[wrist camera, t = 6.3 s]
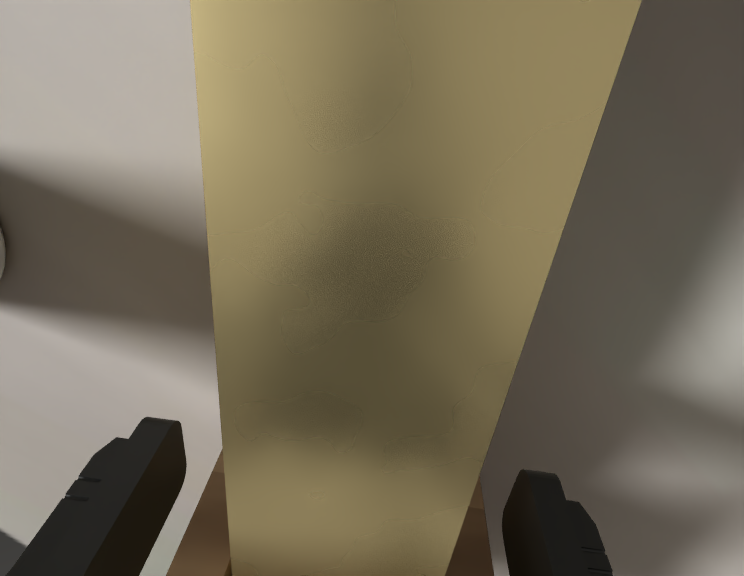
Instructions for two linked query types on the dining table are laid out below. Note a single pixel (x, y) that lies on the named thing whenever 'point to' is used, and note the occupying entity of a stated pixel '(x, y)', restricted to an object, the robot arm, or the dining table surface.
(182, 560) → the socket
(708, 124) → the dining table surface
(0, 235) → the energy drink
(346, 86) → the tan post in box
